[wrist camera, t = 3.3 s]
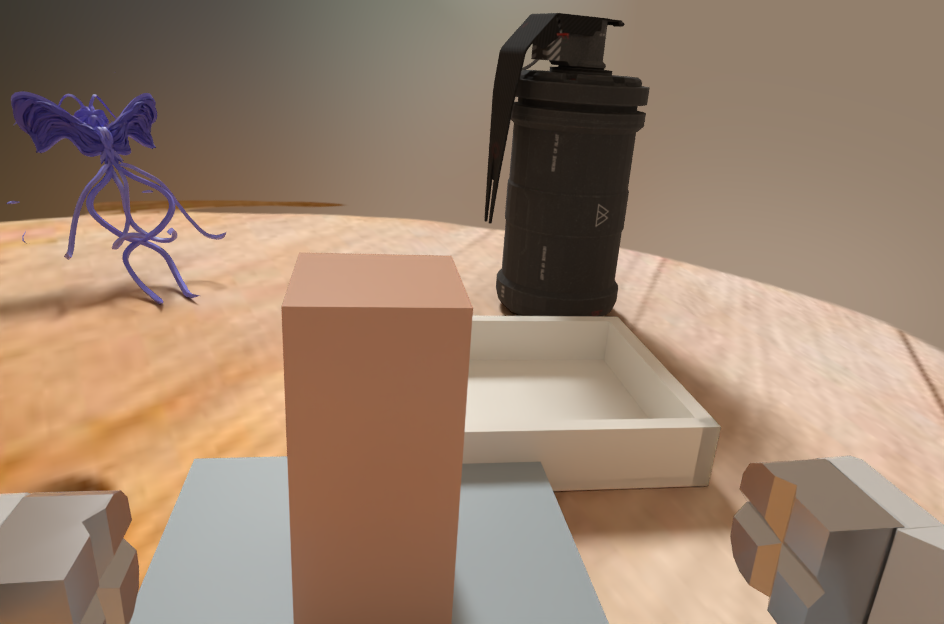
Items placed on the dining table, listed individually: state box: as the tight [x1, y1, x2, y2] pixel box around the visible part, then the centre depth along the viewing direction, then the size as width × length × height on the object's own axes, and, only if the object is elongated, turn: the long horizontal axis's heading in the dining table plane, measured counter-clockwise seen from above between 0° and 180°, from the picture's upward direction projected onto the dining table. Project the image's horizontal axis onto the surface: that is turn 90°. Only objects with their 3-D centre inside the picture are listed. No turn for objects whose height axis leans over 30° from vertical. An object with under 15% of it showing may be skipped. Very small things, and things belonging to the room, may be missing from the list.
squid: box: [7, 92, 226, 304], centre depth 54 cm, size 14×35×18 cm
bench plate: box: [129, 457, 609, 624], centre depth 22 cm, size 14×14×2 cm
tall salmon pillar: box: [282, 253, 473, 624], centre depth 20 cm, size 4×4×10 cm
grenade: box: [485, 13, 649, 317], centre depth 47 cm, size 9×11×20 cm
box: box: [462, 316, 721, 491], centre depth 35 cm, size 13×13×3 cm
